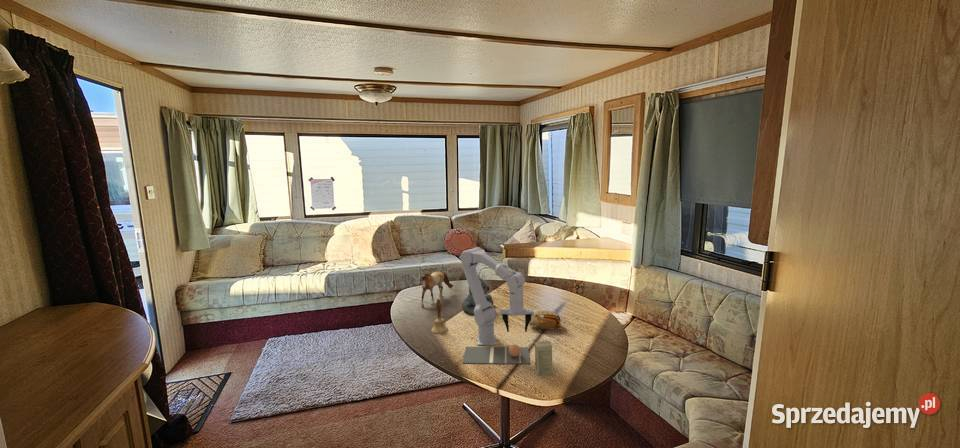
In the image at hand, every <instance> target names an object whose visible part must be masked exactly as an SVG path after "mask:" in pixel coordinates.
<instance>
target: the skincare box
mask: <svg viewBox="0 0 960 448" xmlns="http://www.w3.org/2000/svg"><path fill="white" fill-rule="evenodd" d="M534 357H535V361H534V362H535V373H536V375H537V376H550V375H551V376H552V375H553V374H554V373H553V372H554V370H553V368H554V365H553V344H552V342H551V341H550V340H545V341H543V340H541V341H534Z"/></svg>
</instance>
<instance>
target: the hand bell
mask: <svg viewBox="0 0 960 448" xmlns="http://www.w3.org/2000/svg"><path fill="white" fill-rule="evenodd" d="M435 308H436V311H437V312H436V313H437V317H436V319H435V320H434V325H433V327H432V328H431V332H432V333H433V334H439V335H440V334H444V333H447V332H448V331H449V328H448V327H447V326H446V323H445V319H444V318H442V316H441V315H442V314H441V313H442V312H441V311H442V302H441V298H440V299H439V298H438V299H436V304H435Z"/></svg>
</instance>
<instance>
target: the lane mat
mask: <svg viewBox="0 0 960 448" xmlns="http://www.w3.org/2000/svg"><path fill="white" fill-rule="evenodd" d="M519 347H520V349H521V353H520V355H519V356H517V357H513V356H511V355H510V353H509V348H510V346H465V349H464V353H463V358H462V362H461V364H466V365H470V364H471V365H531V362H530V361H531V360H530V359H531V358H530V352H529V350H530V349H529V346H519Z"/></svg>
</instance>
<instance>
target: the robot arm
mask: <svg viewBox="0 0 960 448" xmlns="http://www.w3.org/2000/svg"><path fill="white" fill-rule="evenodd" d="M459 259H460V262H461V264H462V271H463V273H464V277H465V279H466V281H467V284H468V288H469V287H470V290H471V293H472V296H473V298H474V301H475V304H476V306H475V309H474V311H473V312H474V314H473V316H474V321H475V324H476V325H477V327H478V328H477V329H478V333H477V334H478V338H477V346H495V345H496V335H495V324H494V323H495V321H496V320H495V319H496V318H497V315H498V312H497V310H496V309H495V308H494V305H493V306H492V303H490V302H488V301H487V299H486V297H485V295H486V294H484V291H483V289H482V286H481V283H480V280H479V278H478V275H479V274H478V273H477V269H476V268H477V266H478V265H479V264H480V263H482V264H483V265H485V266H486V267H488V268H490V269H491V270H493V271H494V273H495V275H496V276H497V277H499V278H500V279H502V281H505V282H506V284H507V287H508V291H509V308H506V309H500V310H499V316H500V317H501V318H502V321H503V322H504V325H505V328H506V331H507V333H508V332H509V331H510V327H509V325H510V324H509V316H514V317H520V316H525V318H524V320H525V321H524V322H525V323H524V332H525V333H527V332H528V328H529V325H530V324H529V322H530V320H531V316H534V312H535V310H534V309H527V308H524V285H525V284H526V281H527V280H526V276H525V274H524V273H522V272H521V271H516V270H514V269H512V268H511V267H509V266H508V265H507V264H506V263H499V262H497V260H495V259H493V257H491V256H490V255H489V254H487V253H486V251H485V249H484V248H481V247H480V246H475V247H474V248H471V249H467V250H462V252H461V255H460V257H459ZM483 309H484V310H483Z"/></svg>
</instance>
